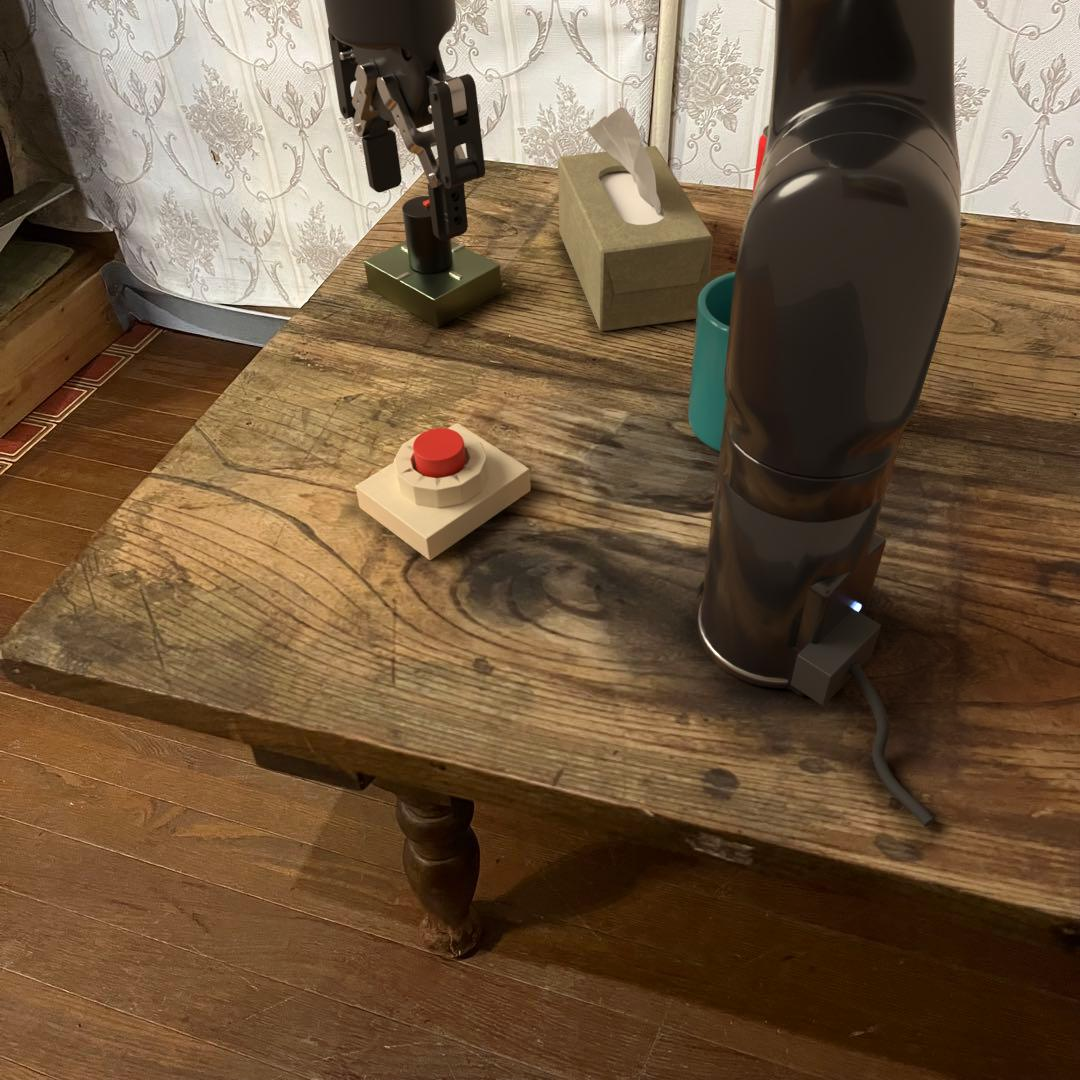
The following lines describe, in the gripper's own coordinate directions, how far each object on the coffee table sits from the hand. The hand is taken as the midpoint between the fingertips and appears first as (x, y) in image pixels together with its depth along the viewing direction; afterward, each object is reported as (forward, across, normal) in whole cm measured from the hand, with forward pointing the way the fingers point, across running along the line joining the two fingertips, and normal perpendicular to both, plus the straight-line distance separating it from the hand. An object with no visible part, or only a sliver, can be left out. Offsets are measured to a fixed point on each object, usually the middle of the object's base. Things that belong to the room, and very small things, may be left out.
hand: (417, 210), depth 69 cm
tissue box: (+19, -10, +26) cm, 34 cm away
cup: (+19, +15, +18) cm, 31 cm away
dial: (+16, -19, +10) cm, 26 cm away
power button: (+15, +7, -4) cm, 17 cm away
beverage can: (+19, -4, +40) cm, 44 cm away
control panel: (+19, -19, +10) cm, 28 cm away
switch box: (+19, +7, -4) cm, 21 cm away
